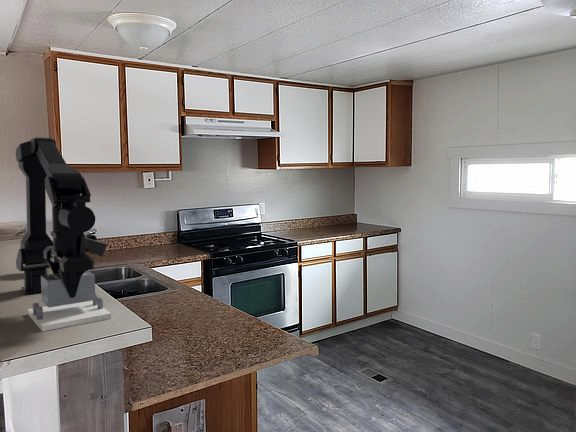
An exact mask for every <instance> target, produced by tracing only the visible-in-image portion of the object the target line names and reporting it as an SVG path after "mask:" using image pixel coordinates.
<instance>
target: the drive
mask: <svg viewBox="0 0 576 432" xmlns="http://www.w3.org/2000/svg"><path fill="white" fill-rule="evenodd" d="M95 275H96V274H94V273H92V271H89V270H88V271H86V272H85V273H84V274H83V275H82V276H81V279H80V282H79V285H78V289H77V293H76V296H75V297H74V298H70V297H69V295H68V292H67V290H66V288H65V285H64V283H63V281H62V278H61V276H60V274H59V273H57V274H49V275H41V292H40V293H41V302H42V303H43V304H44V305H45V306H47V307H48V308H50V307H56V306H62V305H68V304H74V303H80V302H86V301H93V300H95V294H96V278H95V277H96V276H95Z"/></svg>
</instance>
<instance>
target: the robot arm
mask: <svg viewBox="0 0 576 432" xmlns="http://www.w3.org/2000/svg"><path fill="white" fill-rule="evenodd" d="M15 158H16V159H15V160H16V162H17V164H18V169H19V170H20V171H21V173H22V174H23V175H24V177H25V189H26V191H25V192H26V193H25V195H26V199H25V201H26V233H25V234H24V236H23V237H22V238H21V240H20V248H19V249H18V250H17V256H16V260H15V264H16V265H15V266H16V269H17V270H18V271H19V272H23V282H24V285H23V286H21V287H20V289H21V291H22V292H23V293H24V294H25V295H30V294H36V293H41V275H48V272H47V268H50V269H51V271H52V272H53V274H57V273H59V274H60V276H61V278H62V281H63V283H64V285H65V288H66V290H67V292H68V295H69V297H70V298H74V297H75V296H76V293H77V289H78V285H79V282H80V279H81V276H82V275H83V274H84V273H85V272H86V271H89V270H94V269H95V260H94V259H93V258H92V257H90V256H89V255H87V254H86V253H89V254H93V255H97V256H98V257H101V258H102V257H103V258H104V255H105V252H106V250H107V247H108V243H106V242H103V241H100V240H97V239H98V238H97V236H96V235H94V234H91V233H87V234H86V235H85V233H86V232H89V231H90V230H91V229H93V227H94V225H95V223H96V215H95V213H94V210H92V209H91V207H90V208H89V207H88V206H86V204H87V203H91V196H92V194H91V192H90V190H89V187H88V184H87V181H86V180H85V177H84V176H83V175H82V174H81V172H80V171H79V170H78V169H77V168H75V167H73V166H71V165H70V166H69V165H68V164H67V162H66V160H65V158H64V156H63V155H62V154H61V152H60V150H59V148H58V146H57V142H56V139H54V138H52V137H40V136H39V137H37V136H35V137H34V138H31V139H30V140H29V141H25V142H22V143H21V142H20V144H18V146H17V147H16V149H15ZM46 194H47V195H46ZM46 196H47V197H48V198H49V201H50V203H51V218H52V220H51V221H52V230H51V231H50V236H49V235H48V233H47V205H46V202H47V201H46V198H47V197H46ZM51 237H52V238H51Z"/></svg>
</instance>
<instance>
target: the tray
mask: <svg viewBox="0 0 576 432" xmlns="http://www.w3.org/2000/svg"><path fill="white" fill-rule="evenodd" d="M27 315H28V316H29V318H30V319H31V320H32V321H33V322H34V323H35V325H36V326H37V327H38V328H39V329H40V331H42V332H48V331H51V330H52V331H53V330H57V329H58V330H59V329H63V328H68V327H73V326H79V325H83V324H89V323H95V322H100V321H104V320H111V319H112V313H111V312H110V311H109V310H107V309H106V308H105V307H104V297H103V296H101V297H99V294H98V293H95V300H93V301H86V302H80V303H74V304H68V305H62V306H56V307H50V308H48V307H47V306H46V305H45V306H40V304H39V302H33V303H32V308H27Z"/></svg>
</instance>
